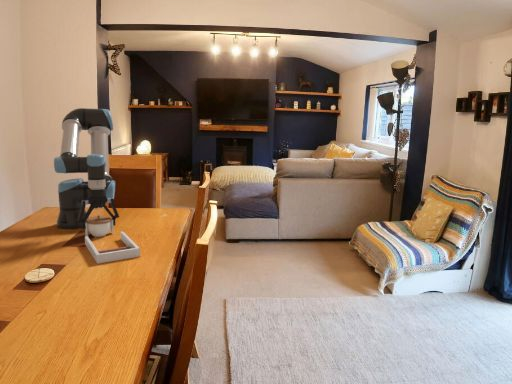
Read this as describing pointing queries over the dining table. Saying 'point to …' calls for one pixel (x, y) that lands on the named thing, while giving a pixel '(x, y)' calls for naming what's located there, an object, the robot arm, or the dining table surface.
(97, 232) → the lidded jar
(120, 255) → the channel
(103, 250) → the tray
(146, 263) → the dining table surface
